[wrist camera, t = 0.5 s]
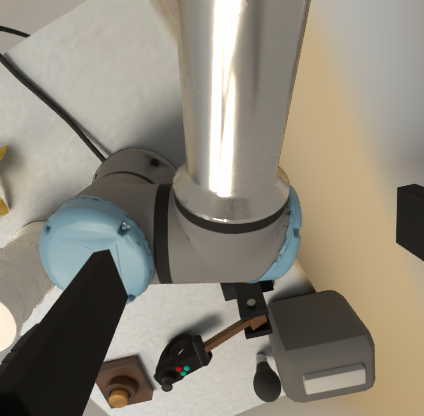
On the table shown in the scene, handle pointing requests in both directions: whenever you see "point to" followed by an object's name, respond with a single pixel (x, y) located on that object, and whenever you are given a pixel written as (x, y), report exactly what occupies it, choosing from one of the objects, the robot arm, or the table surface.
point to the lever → (223, 337)
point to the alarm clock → (320, 347)
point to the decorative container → (21, 281)
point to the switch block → (124, 380)
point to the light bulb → (266, 380)
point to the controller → (177, 361)
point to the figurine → (0, 206)
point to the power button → (118, 397)
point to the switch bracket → (250, 303)
